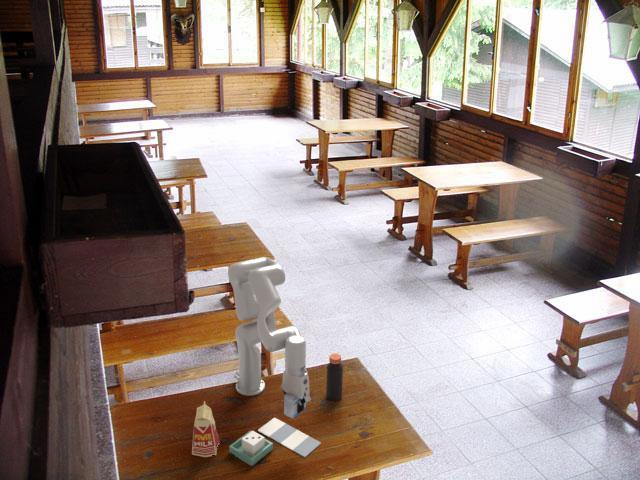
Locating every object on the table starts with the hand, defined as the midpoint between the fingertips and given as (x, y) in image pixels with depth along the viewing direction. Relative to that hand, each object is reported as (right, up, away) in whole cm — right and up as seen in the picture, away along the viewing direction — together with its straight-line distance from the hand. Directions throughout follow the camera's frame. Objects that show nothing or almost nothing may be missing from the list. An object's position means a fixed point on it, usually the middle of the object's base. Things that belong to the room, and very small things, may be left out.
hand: (295, 408), depth 242 cm
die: (-16, -16, -1) cm, 22 cm away
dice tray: (-17, -16, 0) cm, 23 cm away
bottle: (+15, -4, +32) cm, 36 cm away
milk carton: (-34, -16, 0) cm, 37 cm away
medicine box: (0, -2, +1) cm, 2 cm away
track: (-3, -13, +8) cm, 15 cm away
